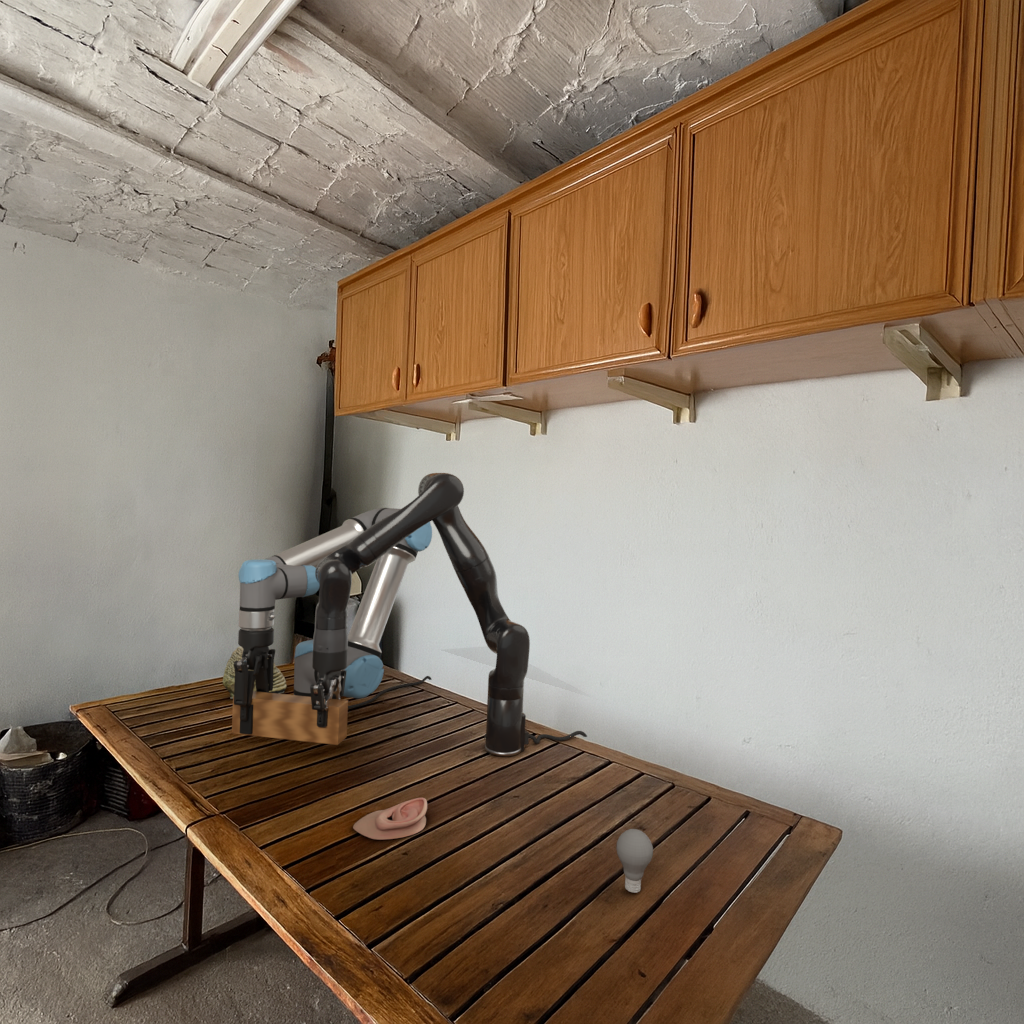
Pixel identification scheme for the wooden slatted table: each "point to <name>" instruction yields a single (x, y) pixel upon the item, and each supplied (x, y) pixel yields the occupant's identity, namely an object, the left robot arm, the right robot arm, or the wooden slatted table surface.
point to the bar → (293, 718)
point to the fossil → (229, 673)
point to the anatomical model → (394, 821)
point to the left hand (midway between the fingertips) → (252, 728)
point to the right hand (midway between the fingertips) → (327, 722)
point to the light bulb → (634, 857)
